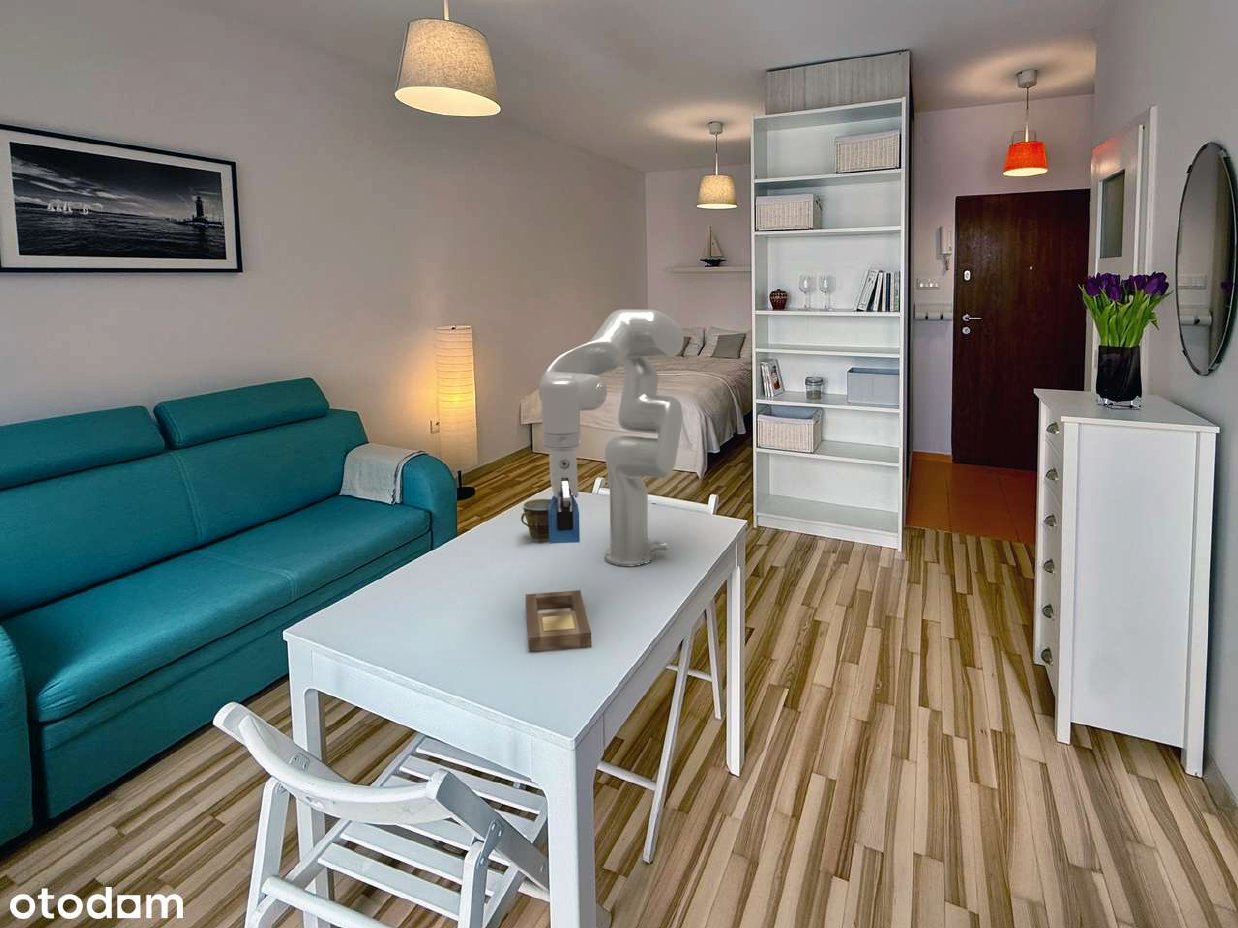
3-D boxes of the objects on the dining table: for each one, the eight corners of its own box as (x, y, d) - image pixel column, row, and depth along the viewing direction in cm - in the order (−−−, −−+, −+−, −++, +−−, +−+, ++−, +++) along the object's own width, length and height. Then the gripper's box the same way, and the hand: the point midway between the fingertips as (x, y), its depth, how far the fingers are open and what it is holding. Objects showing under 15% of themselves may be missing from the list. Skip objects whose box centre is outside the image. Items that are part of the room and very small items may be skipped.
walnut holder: (580, 602, 161) (580, 589, 161) (591, 646, 142) (591, 631, 142) (525, 606, 160) (525, 593, 159) (529, 652, 141) (528, 637, 140)
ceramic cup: (541, 530, 208) (539, 496, 205) (568, 537, 202) (567, 502, 199) (509, 543, 197) (507, 508, 195) (537, 551, 192) (535, 515, 189)
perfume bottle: (549, 533, 155) (547, 478, 152) (578, 532, 155) (577, 478, 153) (549, 543, 149) (547, 486, 146) (579, 542, 149) (578, 485, 147)
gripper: (585, 448, 140) (586, 537, 144) (575, 431, 156) (576, 511, 160) (546, 449, 138) (548, 539, 143) (540, 432, 155) (542, 513, 159)
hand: (563, 523), depth 151 cm, fingers closed on perfume bottle, 6 cm apart
